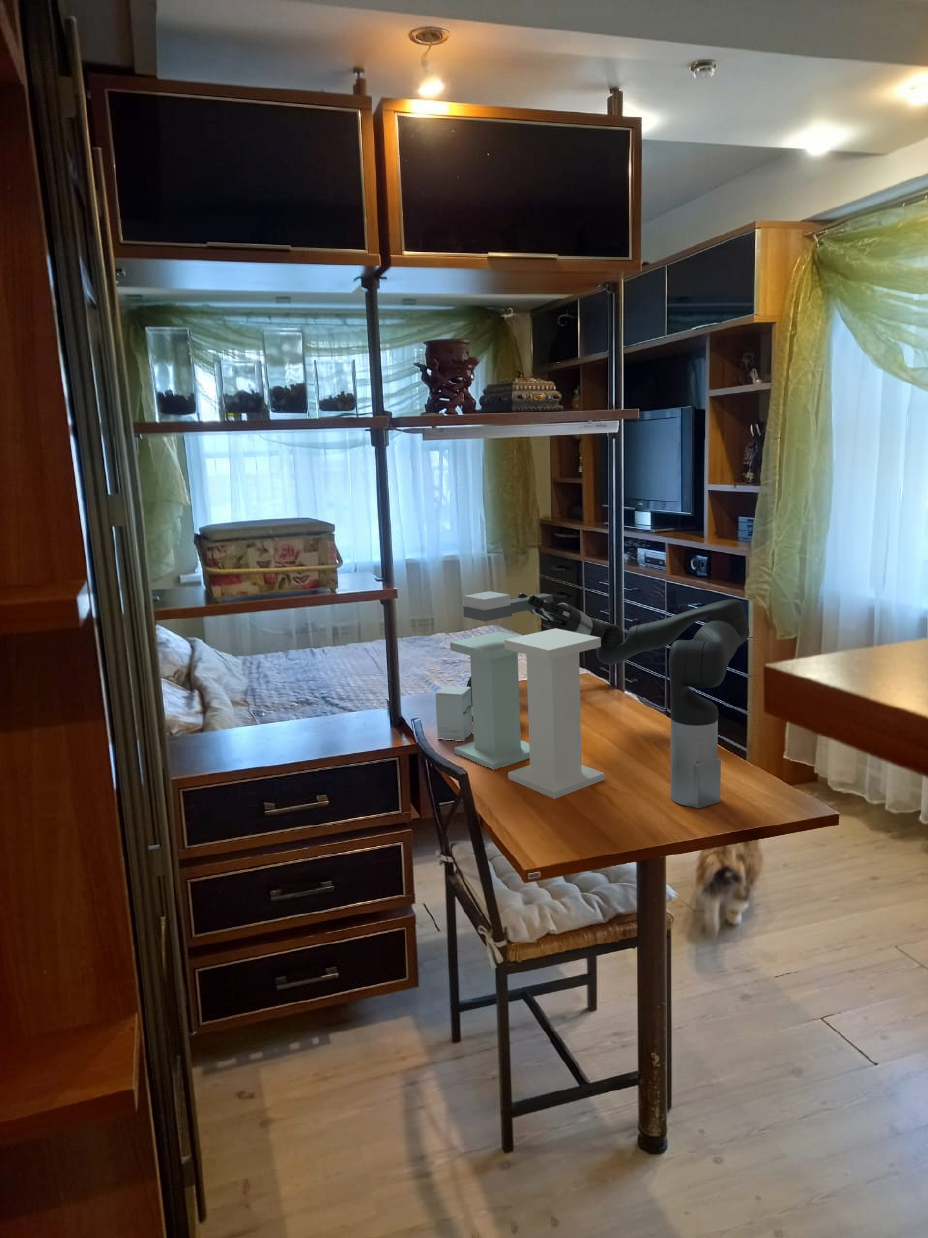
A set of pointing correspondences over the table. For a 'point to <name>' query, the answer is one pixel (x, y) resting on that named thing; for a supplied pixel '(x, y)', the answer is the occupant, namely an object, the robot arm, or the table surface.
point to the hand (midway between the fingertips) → (524, 597)
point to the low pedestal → (493, 701)
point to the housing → (496, 605)
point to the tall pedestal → (554, 712)
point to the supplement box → (454, 712)
